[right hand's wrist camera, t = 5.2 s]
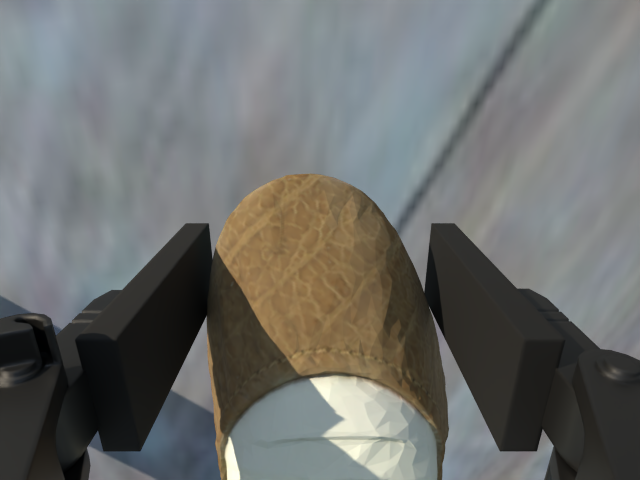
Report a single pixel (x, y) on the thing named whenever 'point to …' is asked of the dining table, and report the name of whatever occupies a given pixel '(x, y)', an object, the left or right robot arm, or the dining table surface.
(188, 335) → the right robot arm
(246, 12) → the dining table surface
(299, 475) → the brown shoe
